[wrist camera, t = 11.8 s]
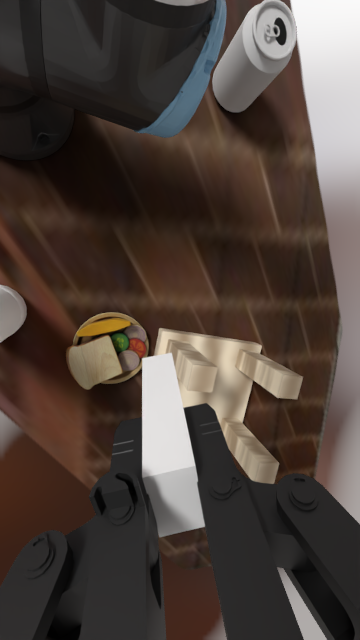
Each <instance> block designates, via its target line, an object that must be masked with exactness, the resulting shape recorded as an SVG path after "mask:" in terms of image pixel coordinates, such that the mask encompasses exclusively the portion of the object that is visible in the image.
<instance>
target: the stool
mask: <svg viewBox="0 0 360 640" xmlns="http://www.w3.org/2000/svg"><path fill="white" fill-rule="evenodd" d="M261 348H262V346H261V345H259V344H257V343H255V342H249V341H243V340H236V339H229V338H223V337H216V336H210V335H203V334H196V333H190V332H183V331H177V330H170V329H164V328H160V329H159V334H158V339H157V344H156V349H155V354H154V356H157V355H162V354H167V353H172V356H173V361H174V366H175V370H176V375H177V380H178V385H179V389H180V394H181V399H182V404H183V408H185V407H189V406H194V405H199V404H204V403H207V404H208V405H210V406H211V407H212V408H213V409H214V410H215V412H216V415H217V418H218V420H219V423H220V426H221V429H222V431H223V434H224V437H225V440H226V442H227V445H228V448H229V450H230V451H231V452H232V454H233V455H234V457H235V458H236V459H237V461H238V462H239V464H240V465H241V466H242V468H243V469H244V471H245V472H246V473H247V475H248V476H249V478H250V479H251V480H253V481H256V482H260V483H269V484H274V481H275V477H276V474H277V470H278V466H279V462H278V461H277V460H276V459H275V458H274V457H273V456H272V455H271V454H270V453H269V451H268V450H267V449H266V448H265V447H264V446H263V445H262V444H261V443H260V442H259V441H258V440H257V438H256V437H255V436H254V435H253V434H252V433H251V432H250V431H249V430H248V429H247V428H246V427H245V425H244V424H243V419H244V415H245V411H246V407H247V403H248V399H249V395H250V391H251V387H252V383H253V380H254V381H255V382H257V383H258V384H259V385H261V386H262V387H263V388H265V389H266V390H268V391H269V392H270V393H272V394H273V395H274V396H276V397H277V398H286V399H297V398H298V394H299V391H300V387H301V383H302V380H303V377H302V376H300V375H298V374H297V373H295V372H293V371H291V370H289V369H287V368H285V367H284V366H282V365H280V364H278V363H276V362H274V361H272V360H270V359H269V358H267V357H265V356H263V355H261V354H260V352H261Z"/></svg>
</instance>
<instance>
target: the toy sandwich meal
mask: <svg viewBox="0 0 360 640" xmlns="http://www.w3.org/2000/svg"><path fill="white" fill-rule="evenodd" d="M148 349H149V345H148V338H147V335H146V332H145V330H144V329H143V328H142V326H141V325H140V324H139V323H138V322H137V321H136V320H134V319H133V318H131V317H129V316H127V315H125V314H121V313H115V312H109V313H102V314H99V315H96V316H94V317H92V318H90V319H89V320H87V321H86V322H85V323H84V324H83V325H82V326H81V327H80V328H79V330H78V331H77V333H76V335H75V337H74V340H73V345H72V346H71V347H68V348H67V350H66V361H67V365H68V368H69V371H70V373H71V375H72V376H73V378H74V379H75V381H76V382H77V383H78V384H79V385H80V386H81V387H83V388H84V389H86V390H89V389H91V388H92V386H94V385H96V384H98V383H103V384H114V383H120V382H123V381H125V380H127V379H129V378H131V377H132V376H134V375H135V374H136V373H137V372H138V371H139V370H140V369H141V368H142V358H147V355H148Z"/></svg>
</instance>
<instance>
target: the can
mask: <svg viewBox="0 0 360 640" xmlns="http://www.w3.org/2000/svg"><path fill="white" fill-rule="evenodd" d="M296 28H297V27H296V23H295V19H294V16H293V14H292V12H291V10H290V9H289V8H288V7H287V6H286V4H285V3H283V2H281V1H280V0H264V1H263V2H262V3H261V4H259V5H256V6H254V7H253V8H252V9H251V10H250V11H249V12H248V14H247V16H246V17H245V19H244V21H243V22H242V24H241V26H240V28H239V29H238V31H237V33H236V35H235V36H234V38H233V40H232V41H231V43H230V45H229V47H228V48H227V50H226V52H225V53H224V55H223V57H222V59H221V60H220V62H219V64H218V65H217V67H216V69H215V71H214V74H213V80H212V83H213V91H214V94H215V97H216V99H217V100H218V102H219V103H220V105H221V106H222V107H224V108H225V109H226V110H228V111H230V112H241V111H244V110H245V109H246V108H247V107H248V106H249V105H250V104H251V103H252V102H253V101H254V100H255V99H256V98H257V97H258V96H259V95H260V94H261V92H262V91H263V90H264V89H265V88H266V87H267V86H268V85H269V84H270V83H271V82H272V81H273V79H274V78H275V77H276V76H277V75H278V74H279V73H280V72H281V71H282V70H283V69H284V68H285V66H286V65H287V64H288V62H289V60H290V58H291V55H292V50H293V48H294V46H295V43H296V38H297V29H296Z"/></svg>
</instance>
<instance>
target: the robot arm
mask: <svg viewBox="0 0 360 640" xmlns="http://www.w3.org/2000/svg"><path fill="white" fill-rule="evenodd" d="M225 24H226V2H225V0H0V155H2V156H5V157H7V158H11V159H16V160H37V159H41V158H44V157H47V156H49V155H51V154H53V153H54V152H56V151H57V150H58V149H60V148H61V147H62V146H63V144H64V143H65V142H66V140H67V139H68V137H69V135H70V133H71V130H72V127H73V123H74V109H76V110H79V111H81V112H84V113H87V114H90V115H93V116H96V117H98V118H101V119H104V120H107V121H110V122H113V123H115V124H118V125H121V126H124V127H127V128H130V129H132V130H134V131H135V132H139V133H148V134H152V135H156V136H160V137H164V138H166V137H172V136H174V135H176V134H178V133H179V132H180V131H181V130H182V129H183V128H184V127H185V126H186V125H187V124H188V122H189V121H190V119H191V118H192V116H193V114H194V113H195V111H196V109H197V107H198V105H199V103H200V101H201V99H202V97H203V95H204V93H205V91H206V88H207V86H208V83H209V80H210V72H211V70H212V68H213V66H214V64H215V63H216V60H217V57H218V54H219V51H220V48H221V44H222V40H223V35H224V30H225ZM113 444H114V446H113V451H112V459H111V467H110V472H108V473H106V474H105V475H104V476H103V477H101V478H100V479H99V480H98V481H97V482H96V484H95V485H94V486H93V488H92V490H91V493H90V496H89V498H90V501H91V503H92V505H93V508H94V510H95V513H96V515H95V516H94V517H93V518H92V519H91V520H90V521H88V523H86V524H84V525H83V526H81V527H79V528H77V529H76V530H74V531H72V532H70V533H69V534H67V535H65V536H64V535H63V534H62V532H58V531H55V530H52V531H47V532H44V533H42V534H40V535H38V536H36V537H34V538H33V539H32V540H31V541H30V542H29V543H28V544H27V545H26V546H25V547H24V548H23V549H22V551H21V552H20V554H19V555H18V556H17V558H16V559H15V561H14V563H13V565H12V567H11V569H10V571H9V572H8V574H7V576H6V578H5V580H4V582H3V583H2V585H1V587H0V640H166V630H165V613H164V595H163V578H162V560H161V556H160V551H159V548H158V534H159V537H163V536H167V535H171V534H175V533H179V532H184V531H188V530H192V529H196V528H200V527H205V529H206V534H207V539H208V545H209V551H210V556H211V562H212V566H213V571H214V576H215V581H216V586H217V591H218V596H219V601H220V606H221V612H222V616H223V622H224V627H225V632H226V637H227V640H304V639H303V636H302V634H301V631H300V628H299V625H298V623H297V621H296V618H295V615H294V612H293V610H292V607H291V604H290V602H289V599H288V596H287V594H286V591H285V588H284V586H283V583H282V580H281V578H280V575H279V572H278V570H277V567H280V568H284V570H285V572H286V573H287V575H288V577H289V578H290V580H291V581H292V583H293V585H294V586H295V588H296V590H297V591H298V593H299V594H300V596H301V598H302V599H303V601H304V603H305V604H306V606H307V607H308V609H309V610H310V612H311V614H312V616H313V617H314V619H315V620H316V622H317V624H318V625H319V627H320V629H321V630H322V632H323V633H324V635H325V637H326V638H327V640H360V524H359V523H358V522H357V521H356V520H355V519H354V518H353V517H352V516H351V515H350V514H349V513H348V512H347V511H346V510H345V509H344V508H343V507H342V506H341V504H340V503H339V502H337V500H336V499H335V498H334V497H333V496H332V495H331V494H330V493H329V492H328V491H327V490H326V489H325V488H324V487H323V486H322V485H321V484H320V483H319V482H317V481H316V480H315V479H313V478H311V477H309V476H306V475H304V474H295V473H293V474H290V475H286V476H284V477H283V478H282V479H281V480H280V481H279V483H278V484H269V483H260V482H256V481H253V480H250V479H248V478H246V477H245V476H244V475H242V474H241V473H240V472H239V470H238V469H237V468H236V466H235V464H234V461H233V459H232V456H231V453H230V451H229V448H228V445H227V442H226V440H225V437H224V434H223V431H222V429H221V426H220V423H219V420H218V418H217V415H216V412H215V410H214V409H213V408H212V407H211V406H210V405H208V404H207V403H204V404H199V405H194V406H189V407H185V408H183V404H182V399H181V394H180V389H179V385H178V380H177V375H176V370H175V366H174V361H173V356H172V353H167V354H162V355H157V356H152V357H147V358H142V417H141V418H136V419H131V420H126V421H121V423H120V425H119V426H118V428H117V430H116V431H115V435H114V443H113Z"/></svg>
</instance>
